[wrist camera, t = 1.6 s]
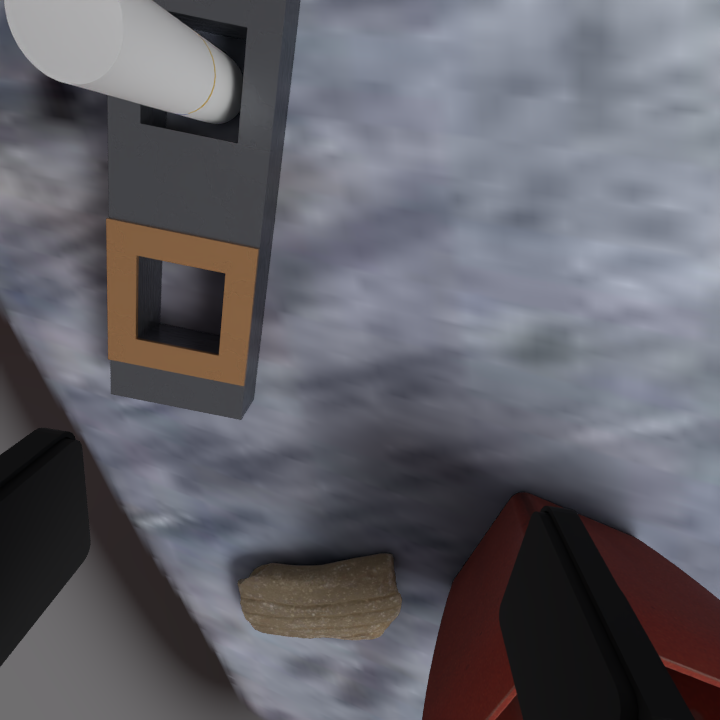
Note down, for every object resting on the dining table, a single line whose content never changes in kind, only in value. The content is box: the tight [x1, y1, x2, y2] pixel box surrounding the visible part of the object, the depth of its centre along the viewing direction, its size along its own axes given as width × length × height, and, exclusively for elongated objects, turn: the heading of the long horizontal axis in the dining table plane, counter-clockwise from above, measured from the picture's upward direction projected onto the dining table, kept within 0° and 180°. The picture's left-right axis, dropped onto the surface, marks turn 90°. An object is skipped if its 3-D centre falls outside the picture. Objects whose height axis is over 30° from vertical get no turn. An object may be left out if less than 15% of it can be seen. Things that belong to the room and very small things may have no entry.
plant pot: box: [422, 492, 720, 720], centre depth 36 cm, size 19×19×17 cm
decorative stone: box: [238, 553, 402, 640], centre depth 45 cm, size 10×16×4 cm, turn 98°
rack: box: [106, 0, 300, 420], centre depth 31 cm, size 30×10×4 cm, turn 169°
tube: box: [4, 0, 243, 124], centre depth 24 cm, size 4×4×15 cm
